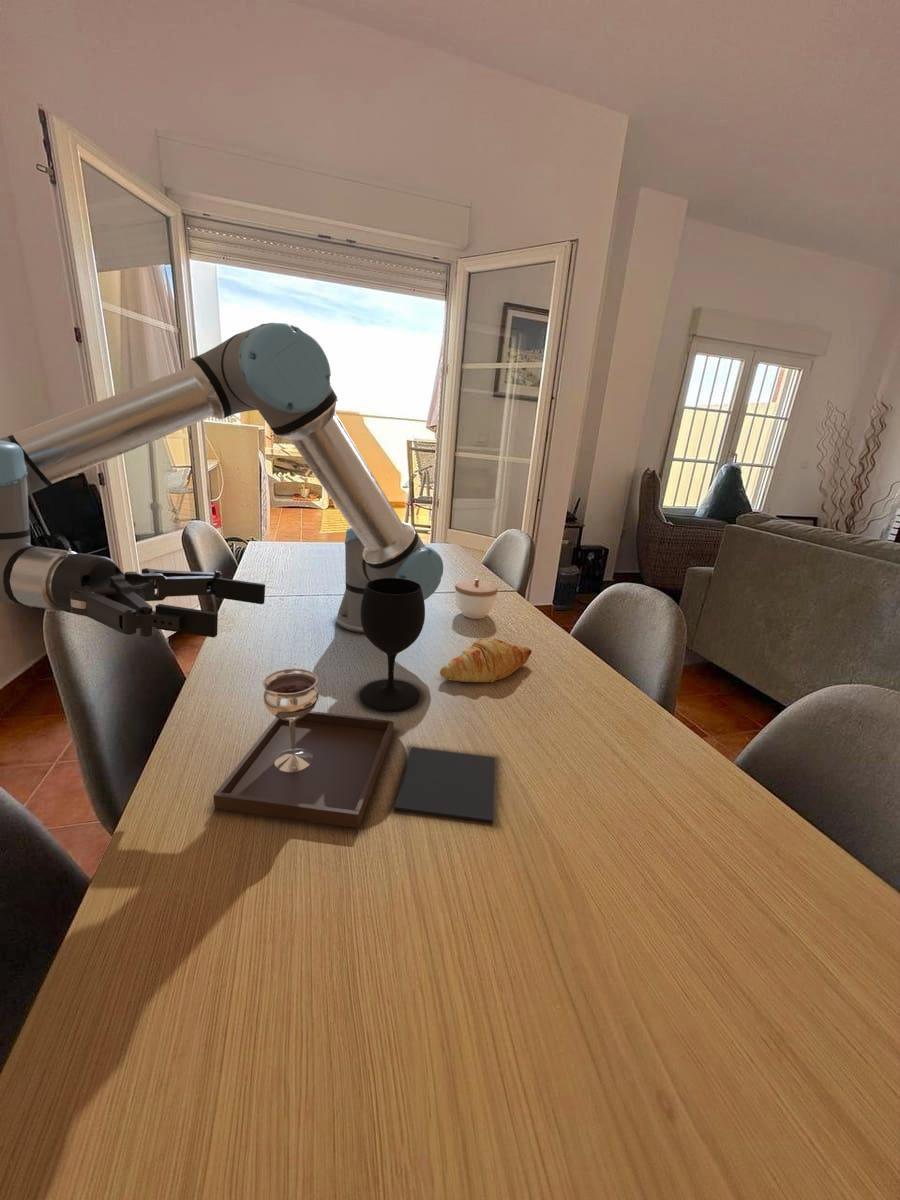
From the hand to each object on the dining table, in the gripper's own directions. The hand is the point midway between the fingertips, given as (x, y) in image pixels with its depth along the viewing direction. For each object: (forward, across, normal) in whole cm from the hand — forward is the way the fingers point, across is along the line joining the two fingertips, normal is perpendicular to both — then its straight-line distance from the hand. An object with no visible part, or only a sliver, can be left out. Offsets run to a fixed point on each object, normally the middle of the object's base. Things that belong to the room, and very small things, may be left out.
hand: (242, 608), depth 60 cm
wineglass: (+8, +1, -20) cm, 22 cm away
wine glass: (+18, -18, -19) cm, 32 cm away
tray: (+11, +1, -20) cm, 23 cm away
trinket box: (+34, -61, -15) cm, 71 cm away
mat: (+29, +2, -19) cm, 35 cm away
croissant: (+35, -30, -16) cm, 49 cm away
